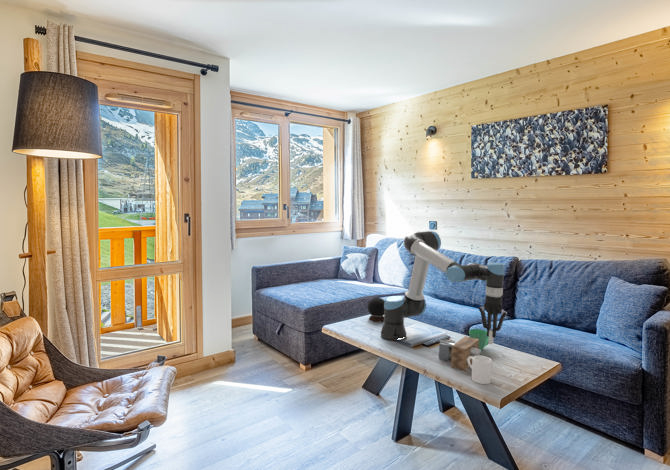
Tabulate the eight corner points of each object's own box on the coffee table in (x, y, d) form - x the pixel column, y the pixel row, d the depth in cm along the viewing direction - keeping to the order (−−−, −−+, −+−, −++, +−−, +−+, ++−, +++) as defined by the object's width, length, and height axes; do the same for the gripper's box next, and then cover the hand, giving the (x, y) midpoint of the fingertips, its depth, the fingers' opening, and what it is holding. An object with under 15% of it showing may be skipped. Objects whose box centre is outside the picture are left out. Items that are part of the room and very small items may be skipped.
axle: (439, 347, 201) (439, 341, 201) (442, 345, 204) (442, 339, 203) (478, 357, 188) (478, 350, 188) (481, 355, 191) (481, 348, 191)
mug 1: (478, 354, 206) (479, 335, 205) (464, 348, 214) (464, 330, 214) (497, 349, 212) (498, 331, 212) (483, 344, 221) (484, 326, 220)
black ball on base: (377, 315, 276) (377, 294, 275) (390, 319, 266) (391, 298, 264) (363, 318, 267) (363, 297, 266) (377, 323, 257) (377, 301, 256)
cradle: (438, 359, 199) (439, 343, 198) (445, 354, 205) (445, 339, 205) (448, 361, 196) (448, 345, 195) (454, 356, 202) (454, 341, 201)
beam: (451, 366, 190) (451, 345, 189) (464, 355, 204) (465, 336, 203) (465, 370, 185) (466, 349, 185) (478, 359, 200) (478, 339, 199)
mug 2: (472, 371, 185) (473, 351, 184) (494, 381, 174) (495, 360, 174) (460, 375, 180) (461, 354, 180) (482, 385, 170) (483, 363, 169)
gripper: (477, 294, 187) (474, 342, 189) (506, 299, 179) (502, 349, 181) (482, 291, 193) (479, 337, 195) (510, 296, 185) (507, 344, 187)
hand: (490, 343), depth 188 cm, fingers closed
